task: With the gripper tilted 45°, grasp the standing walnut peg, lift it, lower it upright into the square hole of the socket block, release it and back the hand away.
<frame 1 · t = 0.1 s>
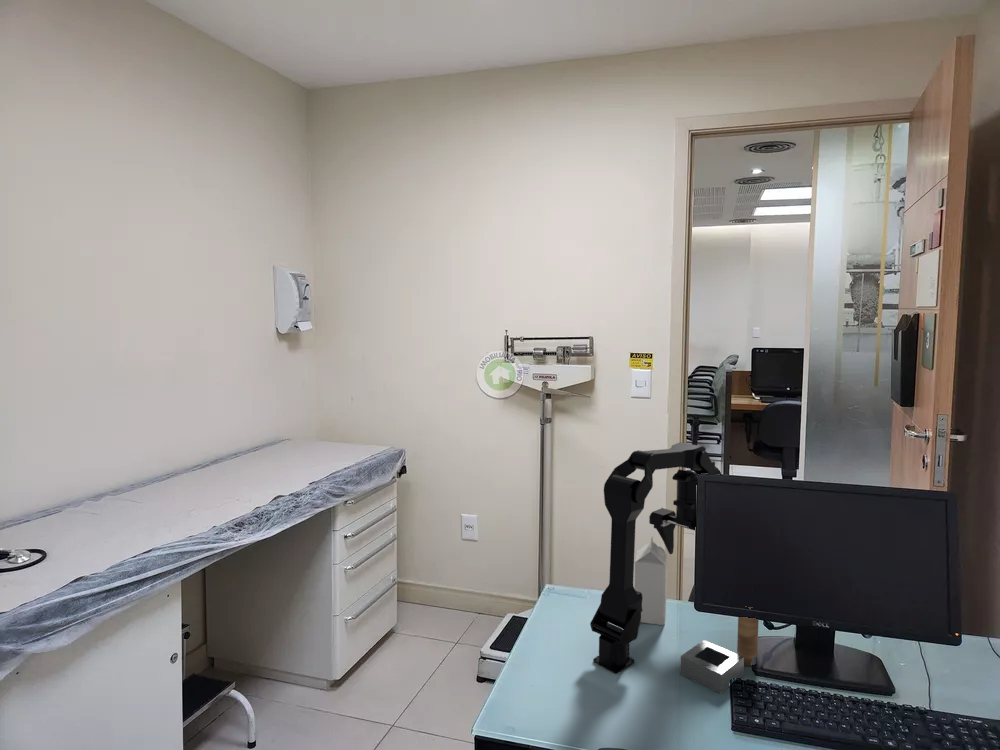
hand: (687, 559, 151), 15 cm above the table, tool pointing down, fingers open, 9 cm apart
peg: (746, 660, 134), on the table
milk carton: (650, 617, 153), on the table
socket block: (711, 674, 130), on the table
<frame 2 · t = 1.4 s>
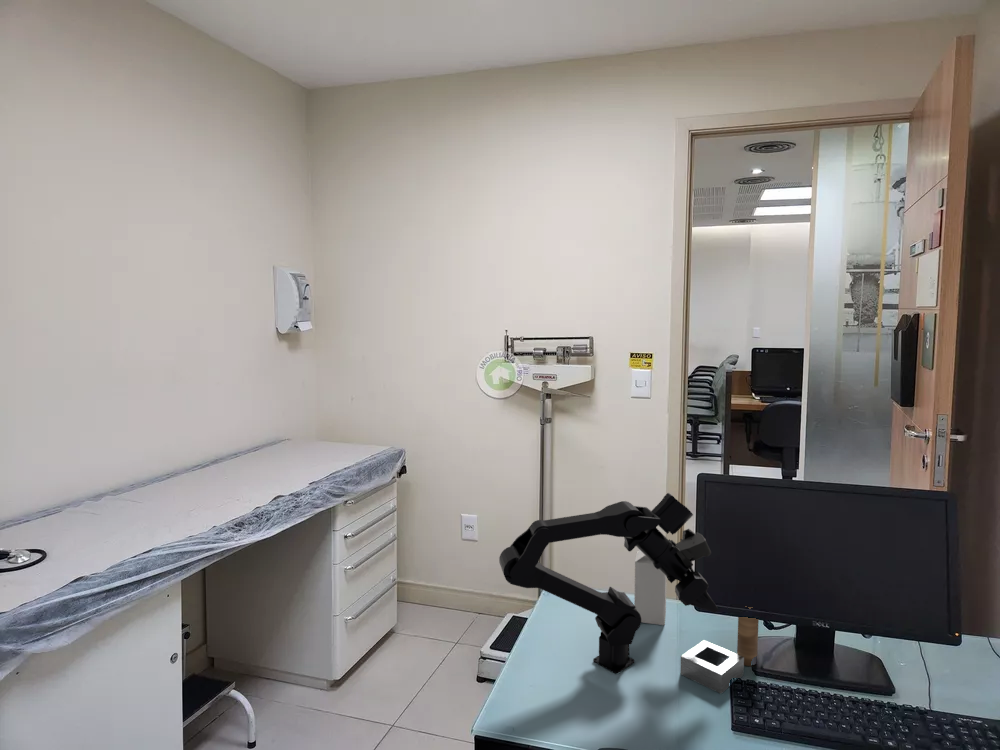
hand: (710, 600, 133), 13 cm above the table, tool tilted 45°, fingers open, 9 cm apart
nothing on the table moved.
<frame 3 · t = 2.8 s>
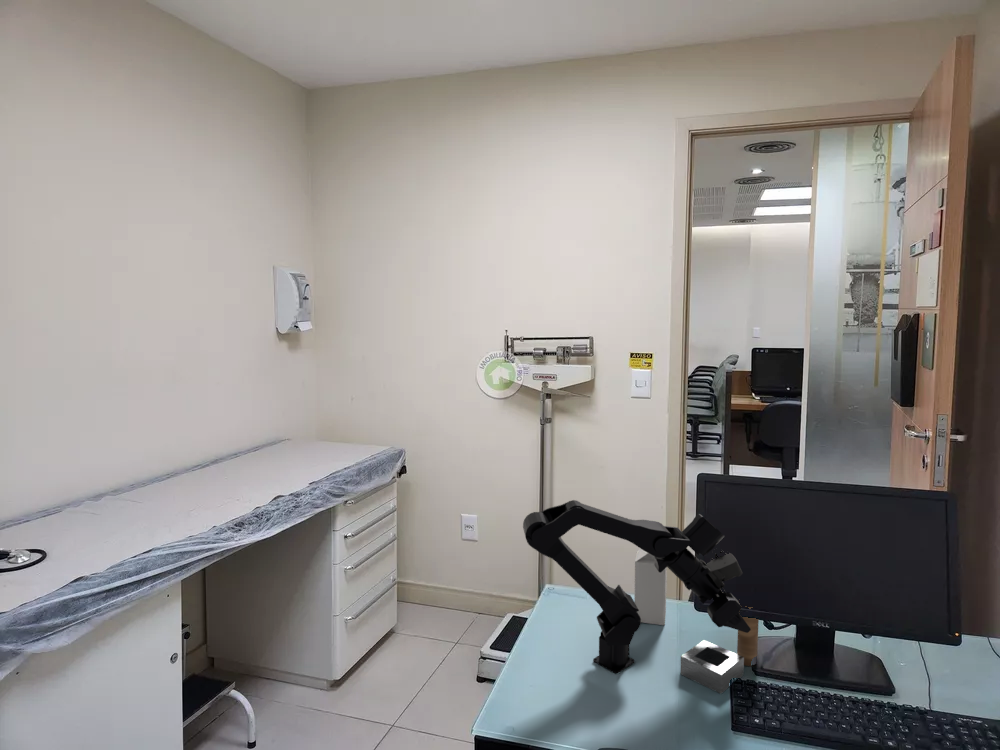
hand: (741, 619, 133), 9 cm above the table, tool tilted 45°, fingers open, 9 cm apart
nothing on the table moved.
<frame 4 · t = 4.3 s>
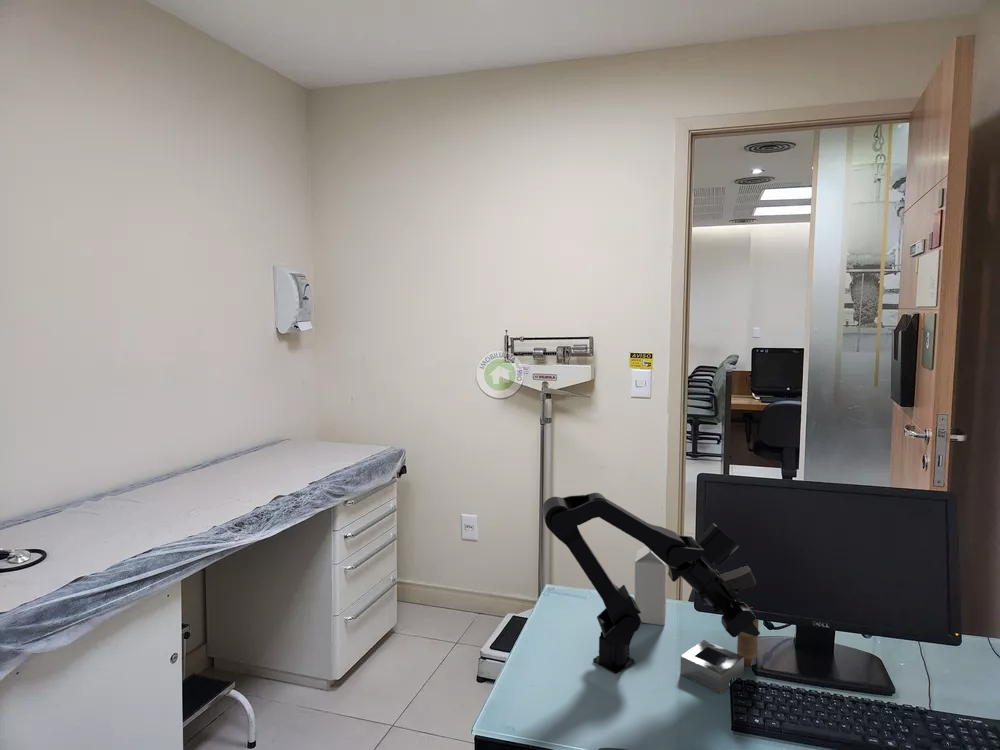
hand: (754, 629, 133), 7 cm above the table, tool tilted 45°, fingers closed on peg, 4 cm apart
peg: (746, 660, 134), on the table, touching gripper
everything else where it was.
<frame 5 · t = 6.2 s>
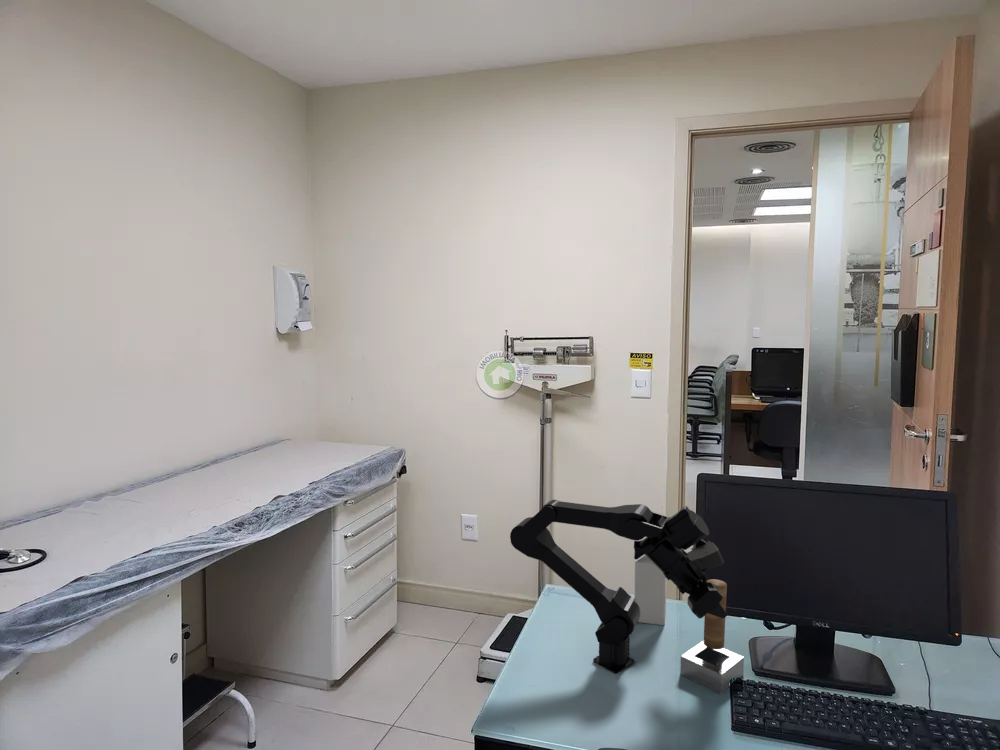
hand: (722, 611, 129), 13 cm above the table, tool tilted 45°, fingers closed on peg, 4 cm apart
peg: (713, 643, 130), point 6 cm above the table, touching gripper
everything else where it was.
when the fingers open (8 cm above the table, at t = 8.1 s): peg stays where it is, resting on socket block.
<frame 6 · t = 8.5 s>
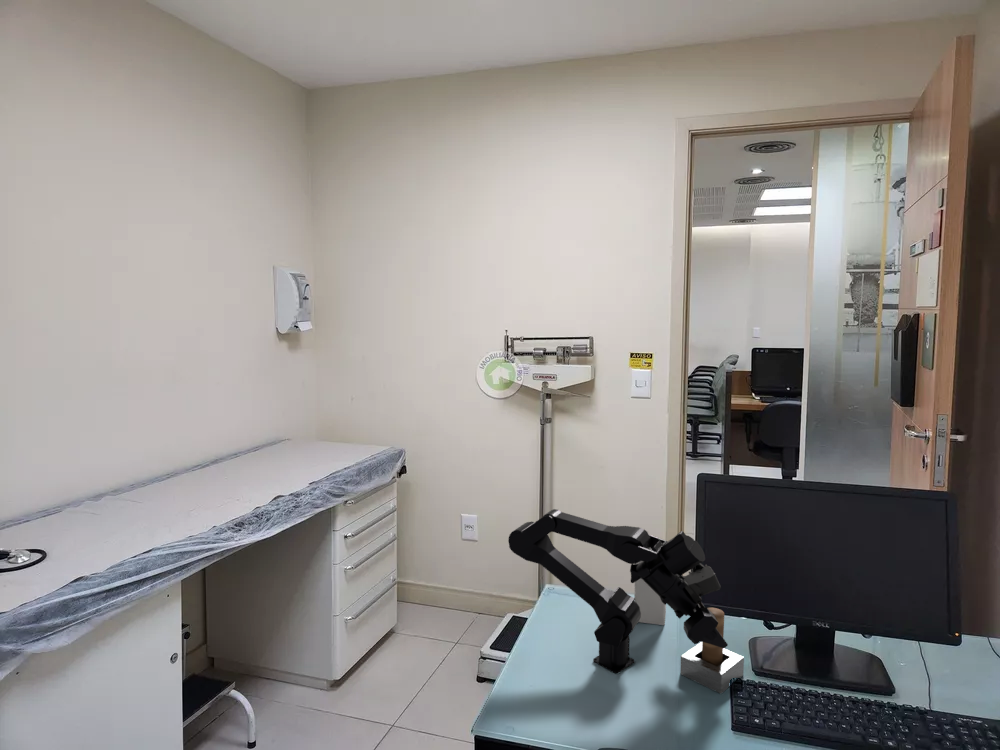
hand: (719, 635, 128), 9 cm above the table, tool tilted 45°, fingers open, 8 cm apart
peg: (711, 672, 129), point 1 cm above the table, touching socket block
everything else where it was.
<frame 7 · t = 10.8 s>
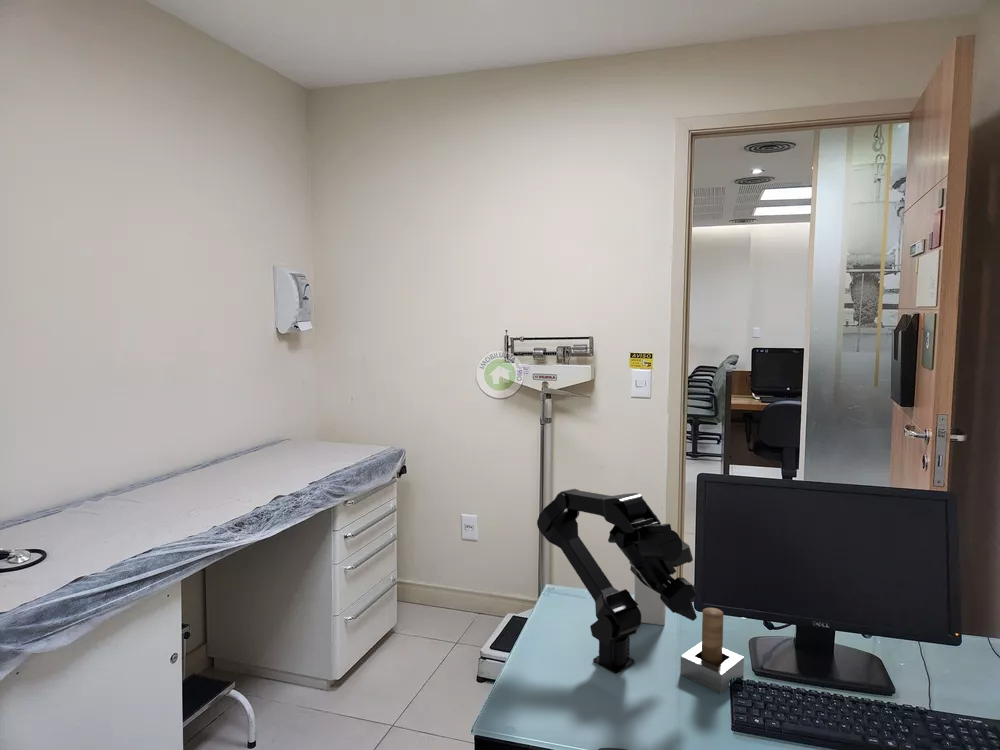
hand: (683, 608, 130), 13 cm above the table, tool tilted 35°, fingers open, 9 cm apart
nothing on the table moved.
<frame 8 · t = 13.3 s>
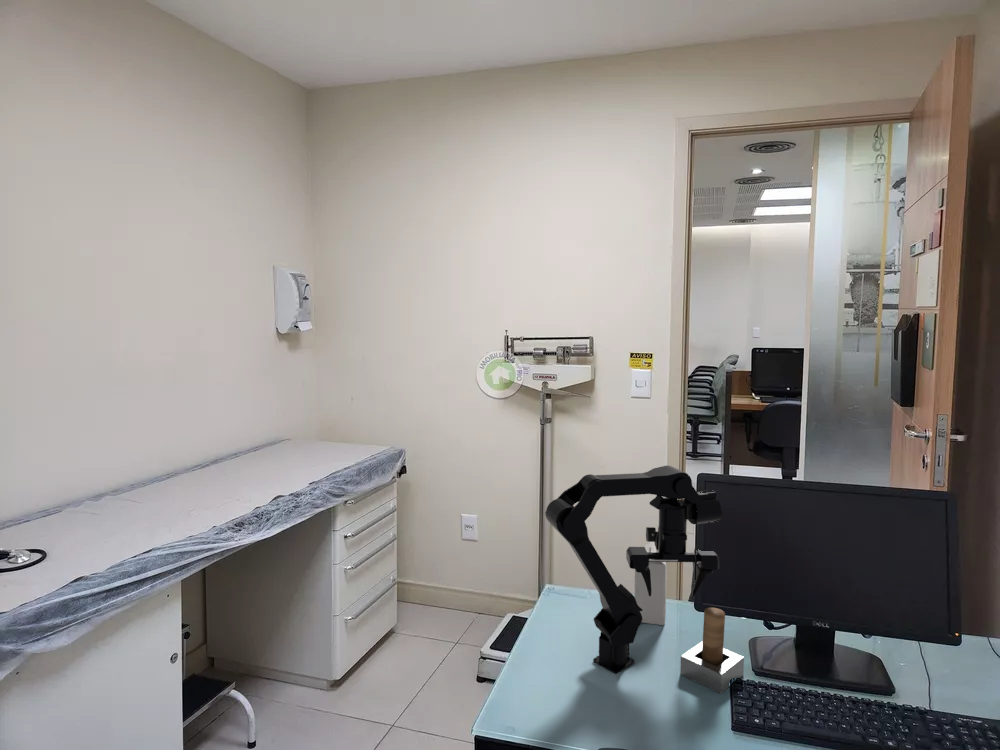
hand: (671, 595, 136), 13 cm above the table, tool pointing down, fingers open, 9 cm apart
nothing on the table moved.
at the end: peg 0.1 cm off-centre on the socket block, point 0.5 cm above the socket block's base; peg tilted 1°; the gripper is holding nothing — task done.
